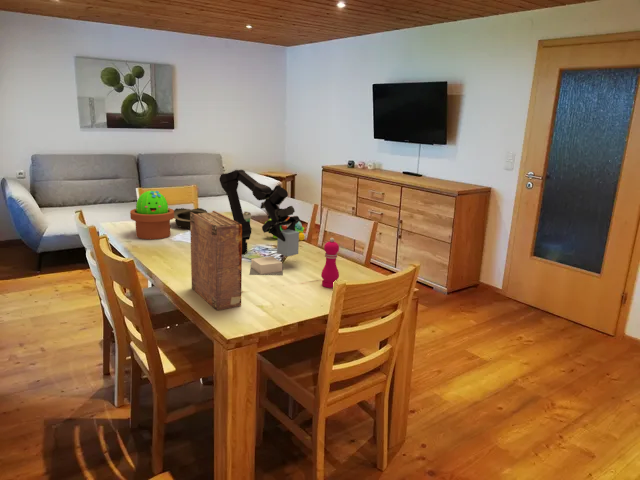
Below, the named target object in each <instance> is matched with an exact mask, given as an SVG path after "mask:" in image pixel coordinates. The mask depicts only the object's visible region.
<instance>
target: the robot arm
mask: <svg viewBox="0 0 640 480" xmlns="http://www.w3.org/2000/svg"><path fill="white" fill-rule="evenodd" d="M218 180H219V184H220V186H221V188H222V189H223V191H225V193H226V195H227V199H228V203H229V207H230V210H231V215H232V220H234V221H236V222H238V223H240V224H242V255H246V254H247V252H248V242H247V241H249V240H250V238H251V234H252V227H251V221H250V222H249V221H246V220H245V219H244V216H243V214H244V211H243V209H242V206H241V201H240V197H239V193H238V188H239V182H240V183H242V184H243V185H244V186H245V187H246V188H248V189H249V191H251V192H252V195H253V197H254V198H255V199H256V200H257V201H262V202H261V204H260V209H265V211H266V213H267V215H268V216H267V219H268V220H269V219H271V220H269V221H268V220H267V222H266V221H265V222H266V223H265V222H264V224H263V225H262V226H261V231H262V232H263V233H264V234H265V233H268V234H271V235H272V236H273V235H274V236H276V237H278V238H279V239H281V240H282V241H285V238H284V236H283V234H282V232H281V230H280V226H283V225H286V226H287V229H290V230H293V231H295V225H296V224H297V223H298V222H301V219H300V218H299V216H298V215H294V213H295V212H296V211H295V208H294V206H293V205H289V206H287V207H285V208H280V207H279V205H281V204H282V203H283V202H284V201H285V200H286V199H287V197H288V196H289V193H288V191H287V190H286V189H285V188H284V187H281V185H275V186H274V188H273V189H272V187H270V186H268V185H266V184H263V183H260V182H258V181H257V180H256V179H254V177H252V176H250V174H248V173H247V172H246V171H245V170H244V169H234V170H233V171H230V172H226V173H222V174H221V175H220V176H219V179H218ZM292 215H293V216H292ZM288 217H290V218H289V219H288V220H286V219H287V218H288ZM287 229H286V230H287ZM269 230H270V231H269ZM278 238H277V239H278Z"/></svg>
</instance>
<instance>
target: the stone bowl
mask: <svg viewBox="0 0 640 480" xmlns="http://www.w3.org/2000/svg"><path fill="white" fill-rule="evenodd" d="M173 210H174V218H173V220H174V221H175V225H176V226H177V227H178V228H181V229H188V230H189V229H190V212H192V213H194V214H199V213H209V212H208V211H207V210H206V209H203V208H200V207H199V208H198V207H197V208H192V209H190V208H184V207H181V208H178V207H177V208H175V209H173Z"/></svg>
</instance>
